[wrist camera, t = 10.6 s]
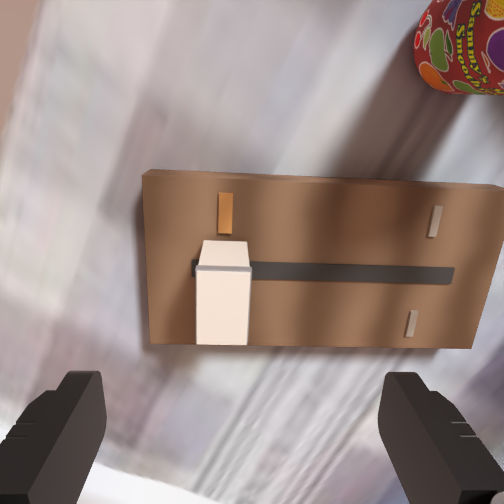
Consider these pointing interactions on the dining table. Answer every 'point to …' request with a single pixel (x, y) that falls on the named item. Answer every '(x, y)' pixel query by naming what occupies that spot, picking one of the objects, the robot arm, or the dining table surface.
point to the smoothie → (462, 46)
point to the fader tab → (222, 293)
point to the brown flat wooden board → (327, 256)
